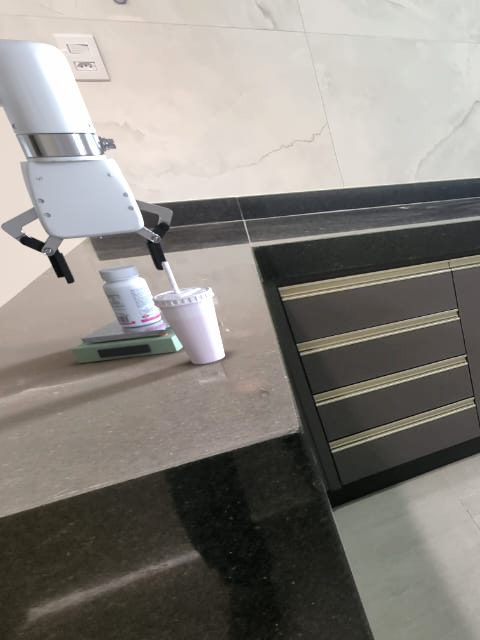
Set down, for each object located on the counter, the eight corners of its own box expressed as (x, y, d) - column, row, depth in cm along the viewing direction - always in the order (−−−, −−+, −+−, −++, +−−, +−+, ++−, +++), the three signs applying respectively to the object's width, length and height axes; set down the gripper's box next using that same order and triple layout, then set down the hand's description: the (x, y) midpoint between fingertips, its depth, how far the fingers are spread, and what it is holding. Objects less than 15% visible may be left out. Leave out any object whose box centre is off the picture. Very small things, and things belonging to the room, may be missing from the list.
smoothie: (169, 365, 73) (124, 265, 67) (216, 348, 78) (179, 254, 72) (201, 370, 71) (158, 268, 65) (247, 352, 76) (211, 256, 71)
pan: (83, 343, 75) (80, 338, 74) (124, 321, 84) (122, 316, 83) (166, 334, 77) (163, 329, 77) (197, 313, 86) (196, 308, 86)
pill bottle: (162, 315, 83) (139, 262, 80) (162, 322, 80) (138, 267, 76) (121, 322, 80) (96, 268, 77) (120, 330, 77) (93, 274, 73)
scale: (76, 364, 74) (68, 348, 73) (127, 334, 85) (121, 320, 84) (176, 352, 77) (169, 336, 76) (213, 325, 88) (207, 311, 87)
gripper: (145, 146, 78) (187, 260, 85) (-33, 151, 67) (32, 282, 74) (151, 146, 73) (195, 268, 80) (-40, 152, 62) (30, 292, 69)
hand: (117, 275), depth 77 cm, fingers open, 9 cm apart
